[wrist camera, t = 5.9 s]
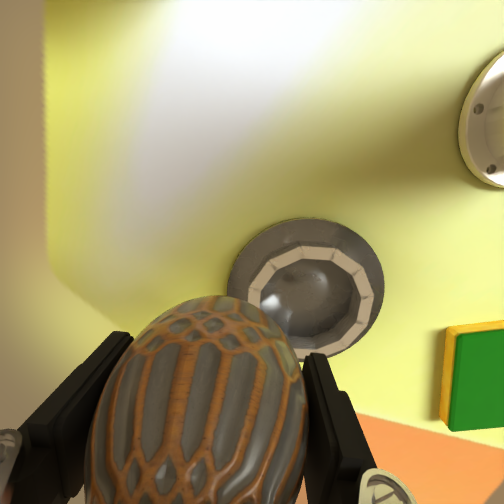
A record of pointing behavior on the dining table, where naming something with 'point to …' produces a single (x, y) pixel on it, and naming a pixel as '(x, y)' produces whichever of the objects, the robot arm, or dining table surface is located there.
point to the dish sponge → (473, 377)
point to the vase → (201, 412)
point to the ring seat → (311, 283)
